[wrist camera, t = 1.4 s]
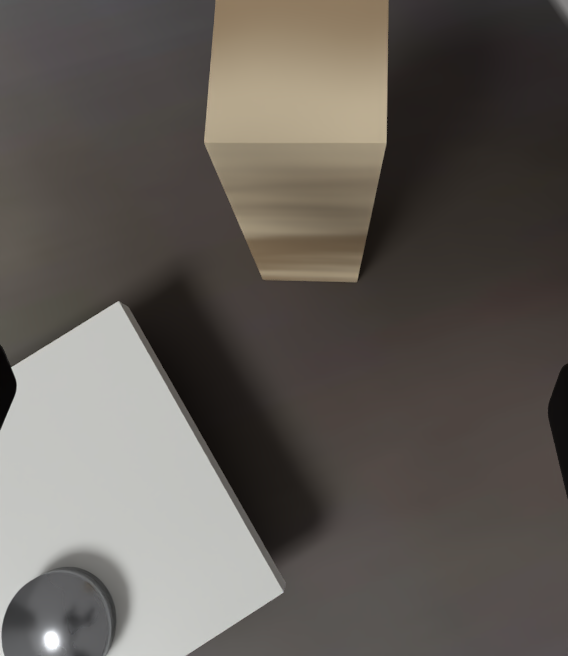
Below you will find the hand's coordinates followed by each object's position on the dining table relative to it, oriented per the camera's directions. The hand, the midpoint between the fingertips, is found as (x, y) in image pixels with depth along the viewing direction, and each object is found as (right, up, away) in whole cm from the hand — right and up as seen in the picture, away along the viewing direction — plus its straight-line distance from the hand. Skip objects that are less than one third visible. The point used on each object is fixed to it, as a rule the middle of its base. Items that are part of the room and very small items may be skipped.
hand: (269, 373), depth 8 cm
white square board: (-7, -6, +13) cm, 16 cm away
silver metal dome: (-7, -9, +9) cm, 15 cm away
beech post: (+1, +5, +14) cm, 15 cm away
